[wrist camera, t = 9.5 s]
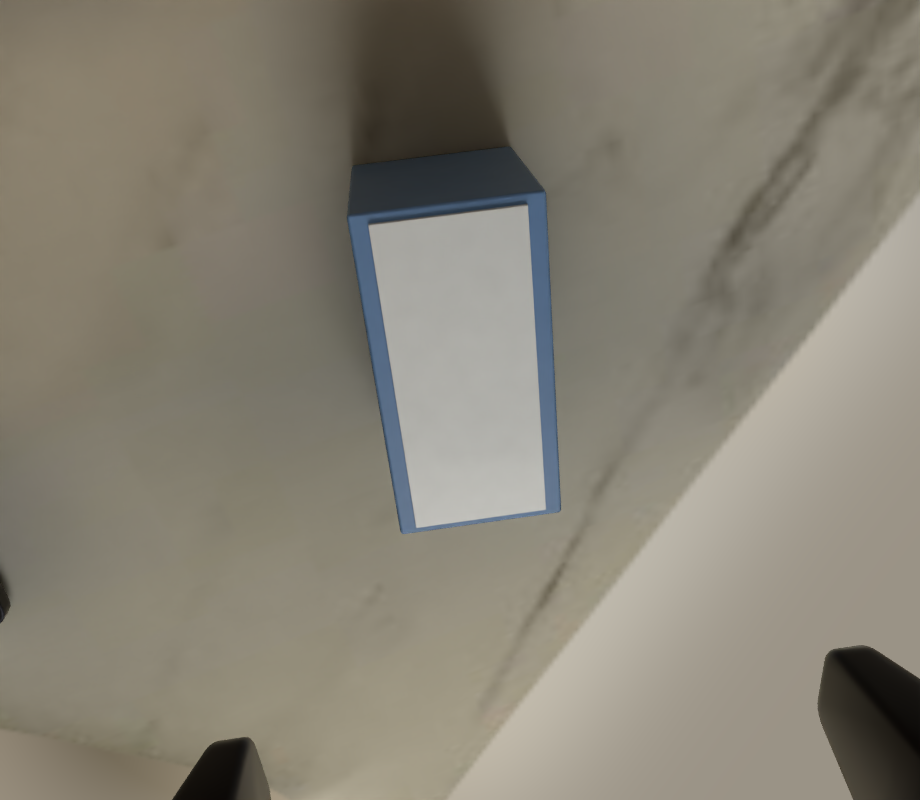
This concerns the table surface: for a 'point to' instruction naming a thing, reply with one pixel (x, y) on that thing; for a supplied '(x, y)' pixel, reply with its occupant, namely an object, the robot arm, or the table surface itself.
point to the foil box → (459, 334)
